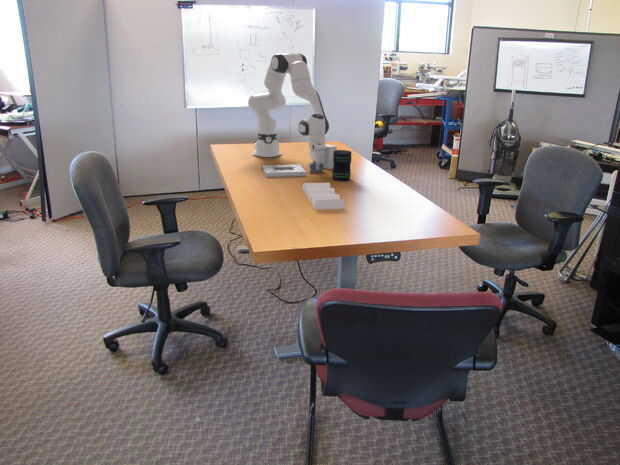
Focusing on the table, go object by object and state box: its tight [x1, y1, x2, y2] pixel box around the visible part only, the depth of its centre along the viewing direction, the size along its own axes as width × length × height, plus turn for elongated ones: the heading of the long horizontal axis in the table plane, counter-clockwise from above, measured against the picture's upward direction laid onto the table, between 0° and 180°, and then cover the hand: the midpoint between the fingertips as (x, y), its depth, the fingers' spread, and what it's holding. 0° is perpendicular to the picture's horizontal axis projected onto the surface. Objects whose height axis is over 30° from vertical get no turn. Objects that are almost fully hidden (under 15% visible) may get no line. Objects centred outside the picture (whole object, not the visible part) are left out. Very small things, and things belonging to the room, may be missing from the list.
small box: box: [323, 143, 338, 170], centre depth 301 cm, size 8×6×13 cm
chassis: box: [261, 164, 307, 178], centre depth 288 cm, size 18×22×2 cm
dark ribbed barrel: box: [331, 149, 352, 182], centre depth 276 cm, size 10×10×15 cm
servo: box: [307, 161, 325, 174], centre depth 292 cm, size 4×10×6 cm, turn 102°
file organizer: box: [301, 182, 345, 211], centre depth 244 cm, size 13×35×5 cm, turn 10°
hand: (316, 168), depth 292 cm, fingers closed on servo, 4 cm apart
